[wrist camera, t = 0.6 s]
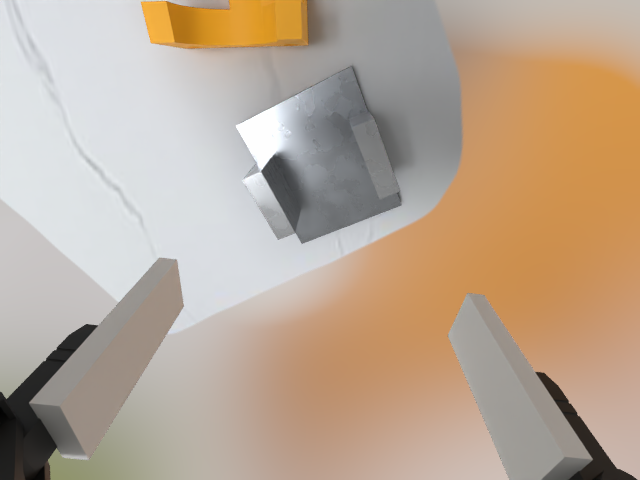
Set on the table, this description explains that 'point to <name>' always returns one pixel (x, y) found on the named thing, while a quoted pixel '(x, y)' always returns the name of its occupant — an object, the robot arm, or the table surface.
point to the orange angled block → (228, 24)
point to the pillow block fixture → (319, 161)
